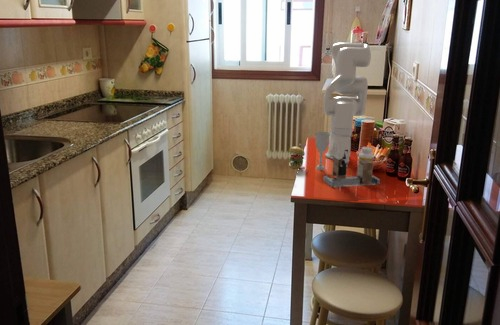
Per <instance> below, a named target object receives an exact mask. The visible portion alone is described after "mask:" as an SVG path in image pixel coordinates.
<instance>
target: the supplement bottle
mask: <svg viewBox="0 0 500 325" xmlns="http://www.w3.org/2000/svg"><path fill="white" fill-rule="evenodd" d="M359 160H369V161H370V162H372V163H373V164H374V160H375V155H374V153H373V148H372V147H371V146H362V147H361V152H359V154H358V161H357V164H359ZM373 168H374V167H373ZM373 168H372V171H373ZM356 172H358V170H356Z"/></svg>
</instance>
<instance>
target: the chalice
mask: <svg viewBox="0 0 500 325" xmlns="http://www.w3.org/2000/svg"><path fill="white" fill-rule="evenodd" d="M314 135H315V142H314V143H315V147H316V149H317V150H316V151H317V152H318V153H319V155H318V156H319V160H318V161H319V162H318V163H319V164H317V165H316V167H315V170H318V171H324V170H326V168H325V166H324V165H323V164H322V162H323V161H324V160H323V154H324V153H325V152H326V150H327V149H328V148H329V140H330V132H327V131H316V132H315V131H314Z"/></svg>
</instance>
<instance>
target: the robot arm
mask: <svg viewBox="0 0 500 325" xmlns="http://www.w3.org/2000/svg"><path fill="white" fill-rule="evenodd" d="M371 52H372V51H371V48H370V45H369V44H368V43H363V42H360V43H359V42H335V43H334V44H333V45H332V46H331V55H332V59H333V61H334V64H335V75H334V76H335V77H334V79H333V80H331V82H330V83H328V85H327V86H326V89H325V91H324V96H323V112H324V114H325V115H327V116H330V127H329V128H330V129H329V133H330V135H329V144H328V152H326V153H325V157H326V158H327V159H331V160H333V159H334V157H335V158H336V159H338V160H340V166H339V172H338V175H339V176H341V175H346V176H347V173H346V167H347V168H348V164H349V162H350V159H351V158H350V157H351V151H352V150H351V148H352V147H351V146H352V144H351V142H352V141H351V140H352V134H353V124H354V123H353V122H354V117H362V116H363V115H365V113H366V108H367V99H368V86H369V85H368V79H367V78H366V77H365V76H362V75H356V74H357V68H366V67H368V66H370V64H371V60H372V53H371ZM334 92H335V93H336V94H338V96H334V97H332V94H333V93H334ZM339 95H340V96H339ZM341 95H342V96H341ZM343 95H344V96H343ZM342 158H345V159H342ZM342 160H345V161H343V163H342Z"/></svg>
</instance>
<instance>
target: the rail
mask: <svg viewBox="0 0 500 325" xmlns="http://www.w3.org/2000/svg"><path fill="white" fill-rule="evenodd" d="M323 181H324V183H326V184H327V185H328V186H330V187H331V188H340V187H341V188H342V187H356V186H357V187H358V186H373V185H375V186H376V185H380V183H381V179H380V178H378V177H377V176H375V175H373V174H372V178H371V183H363V184H362V178H361V177H360V176H358V175H357V176H346V179H336V177H329V176H328V175H323Z"/></svg>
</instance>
